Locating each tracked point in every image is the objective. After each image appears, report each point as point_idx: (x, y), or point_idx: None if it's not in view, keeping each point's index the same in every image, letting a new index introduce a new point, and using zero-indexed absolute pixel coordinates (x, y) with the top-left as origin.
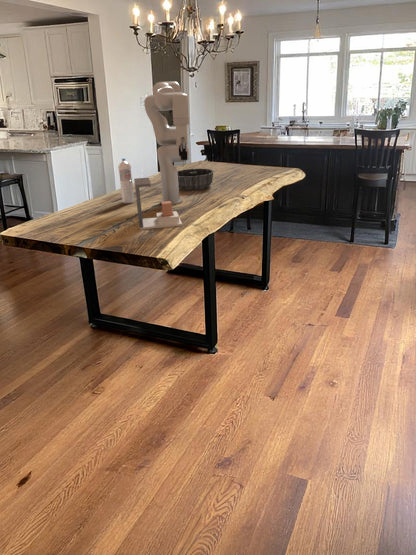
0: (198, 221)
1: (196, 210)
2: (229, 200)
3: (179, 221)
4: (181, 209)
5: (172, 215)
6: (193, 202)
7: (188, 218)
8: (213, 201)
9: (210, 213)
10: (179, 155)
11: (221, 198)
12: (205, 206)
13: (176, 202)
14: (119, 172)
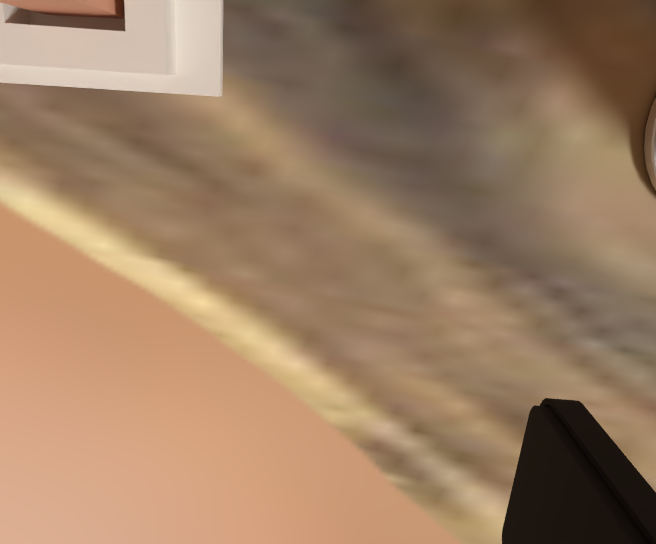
0: (52, 227)
1: (373, 276)
2: None
3: (24, 70)
4: (459, 168)
5: (23, 8)
6: (624, 302)
7: (162, 170)
8: None
9: (245, 354)
10: (541, 412)
11: None
12: (457, 361)
13: (651, 162)
14: None
